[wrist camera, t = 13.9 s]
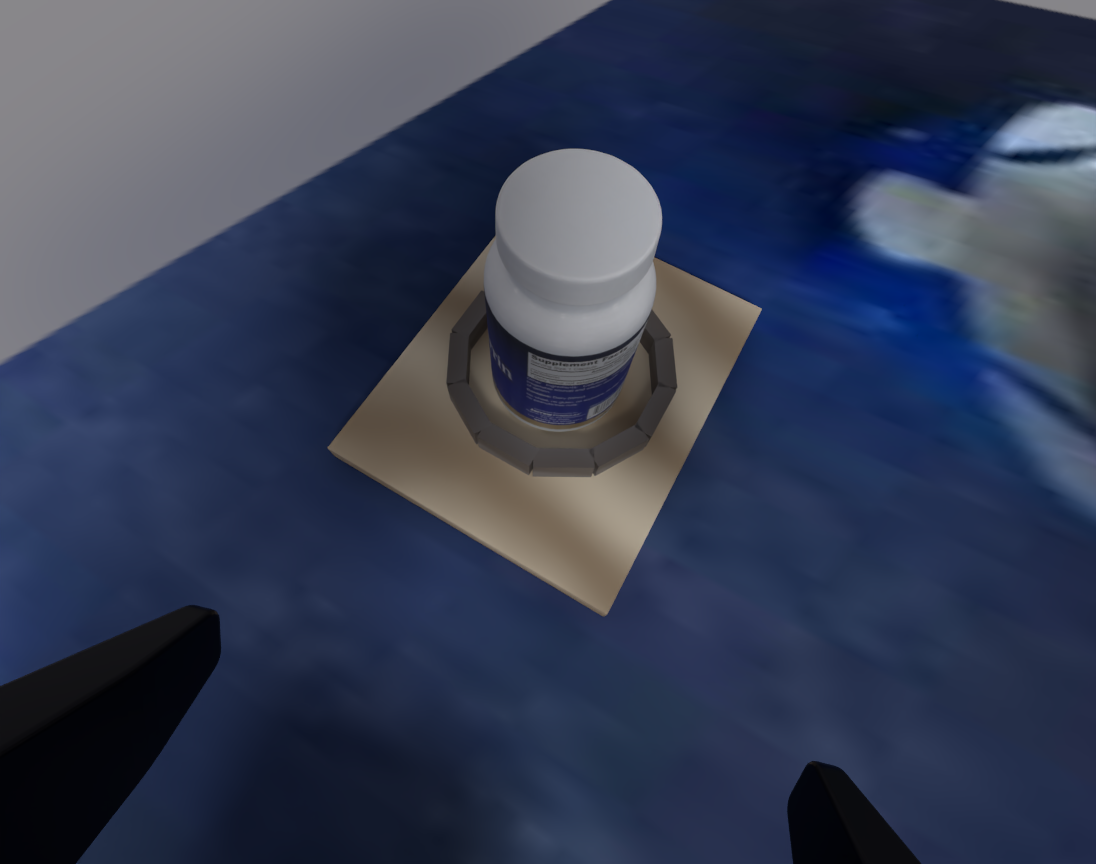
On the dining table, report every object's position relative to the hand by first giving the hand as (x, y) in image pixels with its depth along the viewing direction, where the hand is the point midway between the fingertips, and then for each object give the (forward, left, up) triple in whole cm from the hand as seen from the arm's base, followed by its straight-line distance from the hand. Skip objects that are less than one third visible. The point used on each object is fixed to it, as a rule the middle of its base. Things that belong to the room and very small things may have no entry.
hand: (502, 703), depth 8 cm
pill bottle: (+11, +5, -13) cm, 18 cm away
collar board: (+12, +5, -14) cm, 18 cm away
